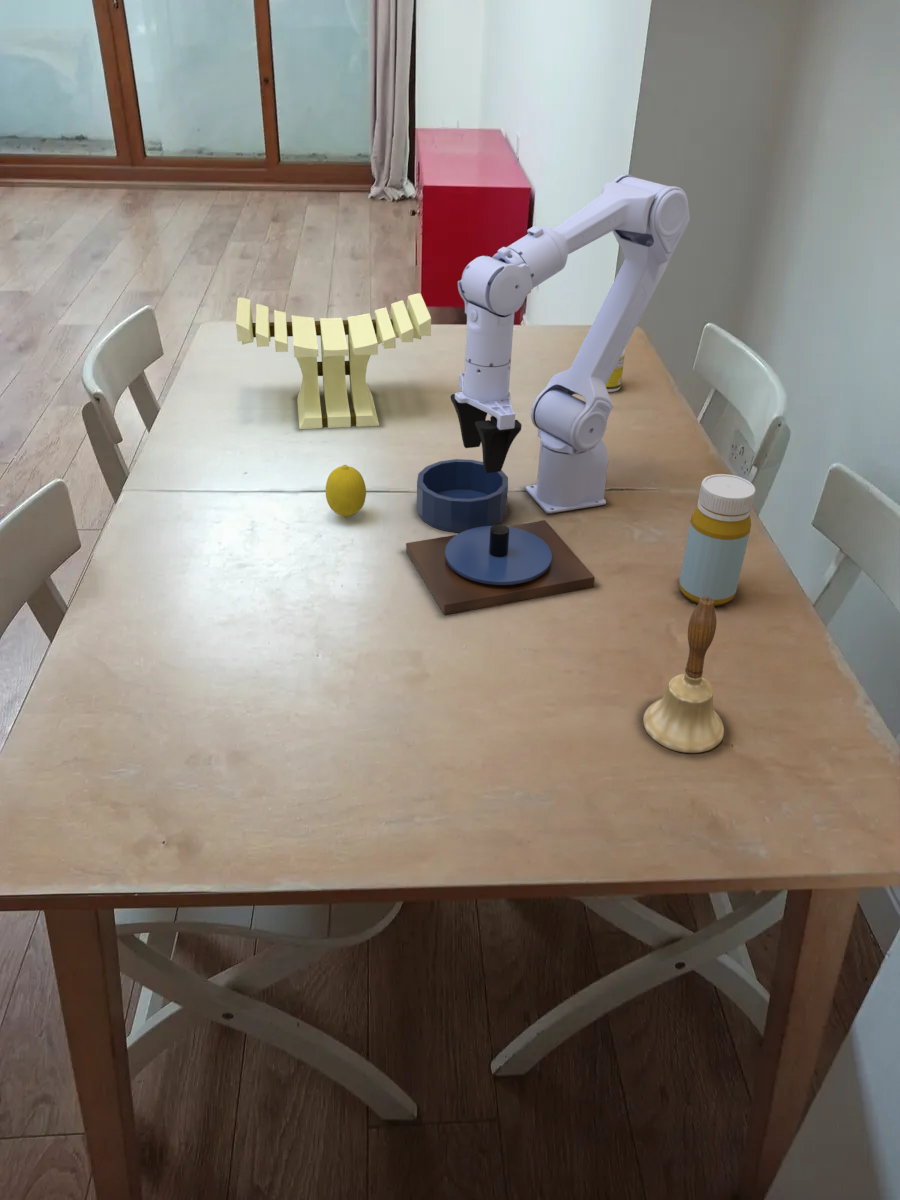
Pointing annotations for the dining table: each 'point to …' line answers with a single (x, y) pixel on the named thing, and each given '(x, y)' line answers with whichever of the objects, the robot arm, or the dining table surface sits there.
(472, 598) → the board
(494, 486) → the tin
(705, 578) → the bottle
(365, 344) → the slatted curved stool
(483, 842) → the dining table surface
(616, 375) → the supplement bottle
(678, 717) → the hand bell
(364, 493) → the lemon
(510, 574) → the lid
